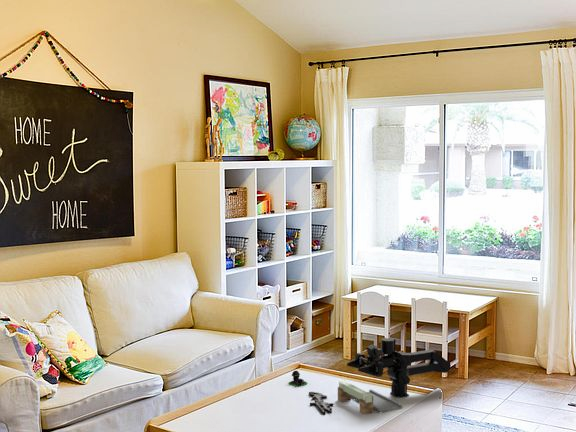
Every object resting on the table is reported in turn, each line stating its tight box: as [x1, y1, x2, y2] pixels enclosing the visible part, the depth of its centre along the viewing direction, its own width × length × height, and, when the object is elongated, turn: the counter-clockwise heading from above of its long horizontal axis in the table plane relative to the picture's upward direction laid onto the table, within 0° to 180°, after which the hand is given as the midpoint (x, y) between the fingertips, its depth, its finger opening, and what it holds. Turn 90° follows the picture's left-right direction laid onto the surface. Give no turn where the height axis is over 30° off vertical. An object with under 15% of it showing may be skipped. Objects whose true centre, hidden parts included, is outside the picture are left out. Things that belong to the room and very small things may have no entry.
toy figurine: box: [287, 370, 308, 388], centre depth 348 cm, size 10×10×6 cm
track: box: [351, 388, 403, 414], centre depth 321 cm, size 12×24×2 cm, turn 27°
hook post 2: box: [359, 396, 374, 415], centre depth 308 cm, size 5×3×7 cm, turn 117°
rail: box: [338, 380, 372, 403], centre depth 315 cm, size 22×3×3 cm, turn 27°
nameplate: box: [308, 391, 334, 416], centre depth 319 cm, size 27×2×10 cm
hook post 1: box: [337, 386, 352, 403], centre depth 324 cm, size 5×3×7 cm, turn 117°
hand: (352, 367), depth 318 cm, fingers open, 9 cm apart
